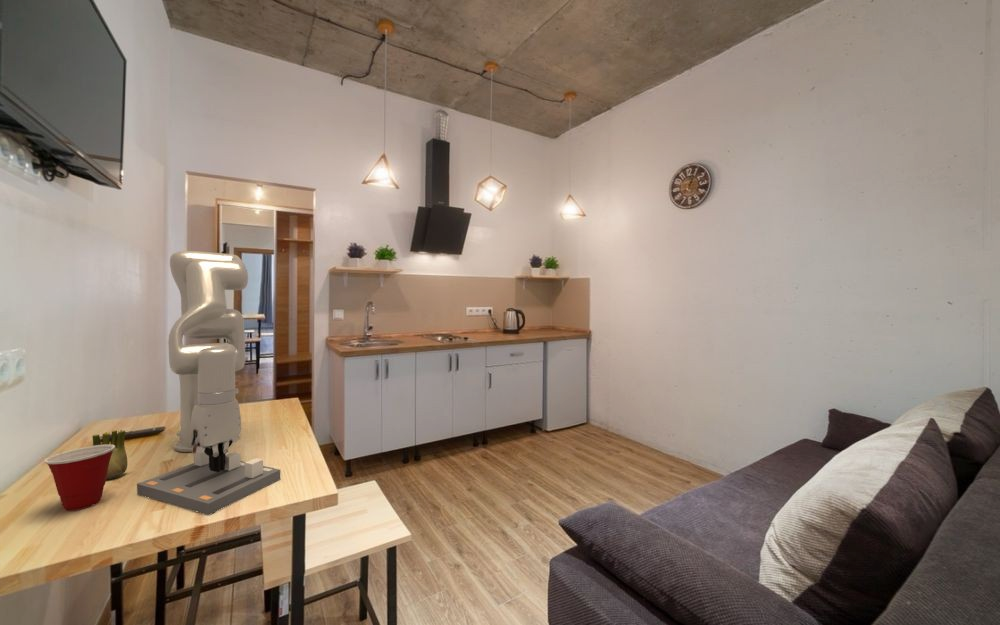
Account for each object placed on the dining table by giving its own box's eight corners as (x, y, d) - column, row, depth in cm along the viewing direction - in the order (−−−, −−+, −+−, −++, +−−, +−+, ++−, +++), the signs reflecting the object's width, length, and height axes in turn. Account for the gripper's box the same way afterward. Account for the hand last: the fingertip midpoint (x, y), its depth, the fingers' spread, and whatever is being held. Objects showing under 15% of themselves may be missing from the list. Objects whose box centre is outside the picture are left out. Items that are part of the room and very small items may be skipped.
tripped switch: (222, 469, 100) (222, 455, 100) (233, 464, 103) (233, 451, 103) (229, 470, 99) (229, 457, 99) (240, 466, 102) (240, 452, 102)
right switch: (244, 476, 96) (244, 462, 96) (255, 471, 99) (256, 458, 99) (251, 478, 96) (251, 464, 95) (263, 473, 98) (263, 459, 98)
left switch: (194, 464, 102) (194, 451, 102) (206, 460, 105) (206, 447, 105) (200, 466, 101) (200, 453, 101) (212, 461, 104) (212, 448, 104)
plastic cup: (101, 488, 94) (100, 439, 94) (126, 498, 90) (125, 446, 90) (34, 510, 84) (33, 455, 84) (59, 522, 80) (58, 464, 80)
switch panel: (137, 494, 92) (136, 483, 92) (214, 464, 109) (214, 454, 109) (208, 515, 84) (208, 503, 84) (280, 479, 101) (280, 469, 101)
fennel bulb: (89, 482, 97) (88, 434, 97) (105, 473, 102) (104, 428, 102) (117, 480, 98) (116, 433, 98) (131, 472, 103) (130, 427, 103)
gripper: (235, 389, 105) (236, 456, 106) (173, 402, 91) (173, 480, 92) (255, 392, 103) (256, 461, 103) (194, 406, 89) (195, 486, 89)
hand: (217, 469), depth 98 cm, fingers closed
